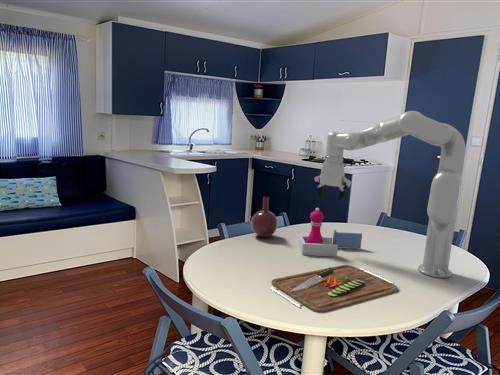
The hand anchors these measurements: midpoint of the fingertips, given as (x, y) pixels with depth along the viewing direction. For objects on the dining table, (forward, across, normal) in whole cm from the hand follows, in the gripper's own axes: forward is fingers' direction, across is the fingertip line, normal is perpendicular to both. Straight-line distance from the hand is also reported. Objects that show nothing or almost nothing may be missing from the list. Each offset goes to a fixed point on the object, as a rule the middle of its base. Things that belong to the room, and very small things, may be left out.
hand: (330, 197), depth 189 cm
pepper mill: (+24, -3, -7) cm, 25 cm away
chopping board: (+25, +20, -39) cm, 50 cm away
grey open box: (+24, -1, -6) cm, 25 cm away
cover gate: (+24, +7, +7) cm, 26 cm away
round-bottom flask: (+24, -31, -5) cm, 40 cm away
